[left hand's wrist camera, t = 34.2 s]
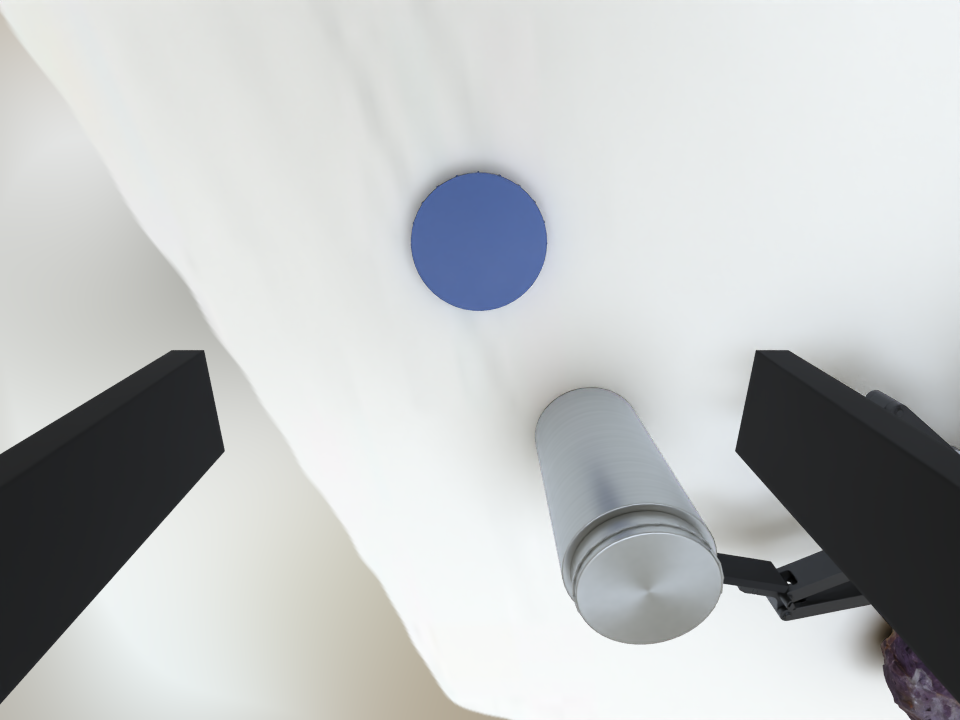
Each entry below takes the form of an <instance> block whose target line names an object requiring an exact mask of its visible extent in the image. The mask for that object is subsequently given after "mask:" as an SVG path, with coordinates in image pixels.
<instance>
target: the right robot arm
mask: <svg viewBox="0 0 960 720" xmlns="http://www.w3.org/2000/svg"><path fill="white" fill-rule="evenodd" d="M866 398H868V399H869V400H871V401H873V402H874V403H876V404H878V405H879V406H881V407H883V408H884V409H886V410H888V411H889V412H891V413H892V414H894V415H896V416H897V417H899V418H901V419H902V420H904V421H906V422H907V423H909V424H911V425H912V426H914V427H916V428H917V429H919V430H921V431H922V432H924V433H925V434H927V435H929V436H930V437H932V438H934V439H935V440H937V441H939V442H940V443H942V444H944V445H945V446H947V447H949V448H950V449H952V450H954V451H955V452H957V453H958V454H960V450H959V449H957V448H956V447H953V446H950V445H949V444H948V443H947V442H945V441H944V440H943V439H942V438H941V437H940V436H939V435H938V434H936V433H935V432H934V431H933V430H932V429H931V428H930V427H929V426H928V425H926V424H925V423H924V422H923V421H922V420H921V419H920V418H919V417H917V416H916V415H915V414H914V413H913V412H912V411H911V410H910V409H909V408H907V407H906V406H905V405H903V404H901V403H900V402H898V401H896V400H895V399H893V398H891V397H889V396H887V395H886V394H884V393H882V392H880V391H878V390H873V391H871V392H869V393H868V394H867V395H866ZM717 558H718V559H719V561H720V562H721V566H722V571H723V575H724V580H723V584H729V585H736V586H738V588H739V589H740V590H741V591H742V592H744V593H750V594H751V593H752V594H757V595H762V596H766V597H767V598H768V600H769V601H770V603H771V605H772V606H773V608H774V609H775V611H776V612H777V614H778V615H779V617H780V618H781V619H782V620H784V621H789V620H794V619H799V618H804V617H809V616H814V615H820V614H825V613H830V612H835V611H840V610H845V609H850V608H855V607H860V606H865V605H870V602H869V601H868V600H867V599H866V598H865V597H864V596H863V595H862V593H861V592H860V591H859V590H858V589H857V588H856V587H855V586H854V584H853V583H852V582H851V581H850V580H849V579H848V578H847V577H846V575H845V574H844V573H843V572H842V571H841V570H840V569H839V568H838V566H837V565H836V564H835V563H834V562H833V561H832V560H831V558H830V557H829V556H828V555H827V554H826V553H825V552H824V551H820V552H818V553H815V554H813V555H810V556H808V557H805V558H803V559H800V560H798V561H795V562H793V563H790V564H787V565H785V566H782V567H780V568H777V569H776V568H775V567H774V565H773V564H772V562H771V561H765V560H758V559H752V558H746V557H740V556H733V555H727V554H721V553H717ZM787 581H788V582H790V583H791V584H788V583H787Z"/></svg>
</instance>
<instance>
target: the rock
mask: <svg viewBox="0 0 960 720" xmlns="http://www.w3.org/2000/svg"><path fill="white" fill-rule="evenodd" d="M892 629H893V628H892ZM881 649H882V653H883V656H884V658H885V659H884V665H883V671H884V676H885V680H886V683H887V685H888V687H889V689H890V691H891V693H892V695H893V698H894V702H895V703H896V704H898V706H899V708H901V709H902V710H903V711H904V712H906V713H907V715H908V716H909V718H910V719H911V720H960V704H959V703H958V702H957V700H956V699H955V698H954V697H953V696H952V695H951V694H950V693H949V691H948V690H947V689H946V688H945V687H944V686H943V685H942V684H941V682H940V681H939V680H938V679H937V678H936V677H935V676H934V675H933V673H932V672H931V671H930V670H929V669H928V668H927V667H926V666H925V664H924V663H923V662H922V661H921V660H920V659H919V658H918V657H917V655H916V654H915V653H914V652H913V651H912V650H911V649H910V648H909V646H908V645H907V644H906V643H905V642H904V641H903V640H902V638H901V637H900V636H899V635H898V634H897V633H896V632H895V631H894V629H893V632H892V634H891V635H890V636H889V637H888V638H886V639H885V640H884V641H883V642H882V643H881Z"/></svg>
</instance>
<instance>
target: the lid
mask: <svg viewBox="0 0 960 720" xmlns="http://www.w3.org/2000/svg"><path fill="white" fill-rule="evenodd" d="M535 203H536V202H535V201H534V200H532V198H531V197H530V196H529V195H528V194H527V193H526V192H525V191H524V190H523V189H522V188H521V187H520V185H516V184H515V183H513V182H512V181H510V180H508V179H506V178H504V177H501V175H499V176H498V175H495V174H490V173H479V171H478V173H477V172H476V173H468V174H464V175H460V176H458V175H456V177H454V178H452V179H450V180H448V181H446V182H445V183H443V184H441V185H440V186H439V185H438V186H437V188H436V189H435V190H434V191H433V192H432V193H431V194H430V195H429V196H428V197H427V198H426V200H425V201H424V202H422V205H421V207H420V209H419V211H418V213H417V215H416V218H415V220H414V222H413V228H412V235H411V249H412V256H413V260H414V263H415V266H416V269H417V271H418V273H419V275H420V277H421V278H422V280H423V282H424V283H425V284H426V285H427V287H428V288H429V289H430V290H431V291H432V292H433V293H434V294H435V295H437V296H438V297H439V298H440V299H442V300H444V301H445V302H447V303H449V304H451V305H453V306H456V307H459V308H462V309H466V310H473V311H484V310H492V309H496V308H500V307H502V306H505V305H507V304H509V303H511V302H513V301H515V300H516V299H518V298H519V297H520V296H522V295H523V294H524V293H525V292H526V291H527V290H528V289H529V288H530V287H531V285H532V284H533V283H534V281H535V280H536V278H537V277H538V275H539V273H540V271H541V269H542V266H543V263H544V260H545V255H546V248H547V235H546V229H545V224H544V223H545V221H544V220H543V218H542V215H541V213H540V211H539V209H538V207H537V205H536V204H535Z"/></svg>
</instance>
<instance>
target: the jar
mask: <svg viewBox="0 0 960 720" xmlns="http://www.w3.org/2000/svg"><path fill="white" fill-rule="evenodd" d="M535 442H536V448H537V453H538V458H539V463H540V468H541V473H542V478H543V483H544V488H545V493H546V498H547V503H548V508H549V513H550V518H551V523H552V529H553V534H554V539H555V544H556V549H557V554H558V559H559V564H560V569H561V574H562V579H563V582H564V586H565V588H566V590H567V593H568V594H569V596H570V597H571V599H572V600H573V601H574V602H575V605H576V608H577V611H578V612H579V613H580V615H581V616H582V617H583V619H584V620H585V622H586V623H587V624H588V625H589V626H590V627H591V628H592V629H594V630H595V631H596V632H598V633H599V634H601V635H603V636H605V637H607V638H609V639H611V640H615V641H618V642H622V643H627V644H654V643H660V642H664V641H668V640H671V639H674V638H676V637H679V636H681V635H683V634H685V633H687V632H689V631H691V630H692V629H694V628H695V627H697V626H698V625H699V624H700V623H701V622H703V621H704V620H705V619H706V618H707V617H708V616H709V614H710V613H711V612H712V610H713V609H714V608H715V606H716V604H717V602H718V599H719V597H720V595H721V593H722V588H723V580H724V575H723V571H722V566H721V562H720V561H719V559H718V558H717V549H716V545H715V541H714V538H713V537H712V535H711V533H710V531H709V529H708V528H707V526H706V524H705V523H704V521H703V520H702V518H701V516H700V515H699V513H698V512H697V510H696V508H695V507H694V505H693V504H692V502H691V500H690V499H689V497H688V496H687V494H686V492H685V491H684V489H683V488H682V486H681V484H680V483H679V481H678V480H677V478H676V476H675V475H674V473H673V472H672V470H671V468H670V467H669V465H668V464H667V462H666V460H665V459H664V457H663V456H662V454H661V452H660V451H659V449H658V448H657V446H656V444H655V443H654V441H653V440H652V438H651V436H650V435H649V433H648V432H647V430H646V428H645V427H644V425H643V424H642V422H641V420H640V419H639V417H638V416H637V414H636V412H635V411H634V409H633V408H632V406H631V405H630V404H629V403H628V402H627V401H626V400H625V399H624V398H622V397H621V396H620V395H618V394H616V393H614V392H611V391H609V390H605V389H601V388H581V389H577V390H573V391H570V392H567V393H565V394H563V395H561V396H560V397H558V398H557V399H555V400H554V401H553V402H552V403H551V404H549V406H548V407H547V408H546V409H545V410H544V412H543V413H542V415H541V416H540V418H539V420H538V423H537V426H536V432H535Z"/></svg>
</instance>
